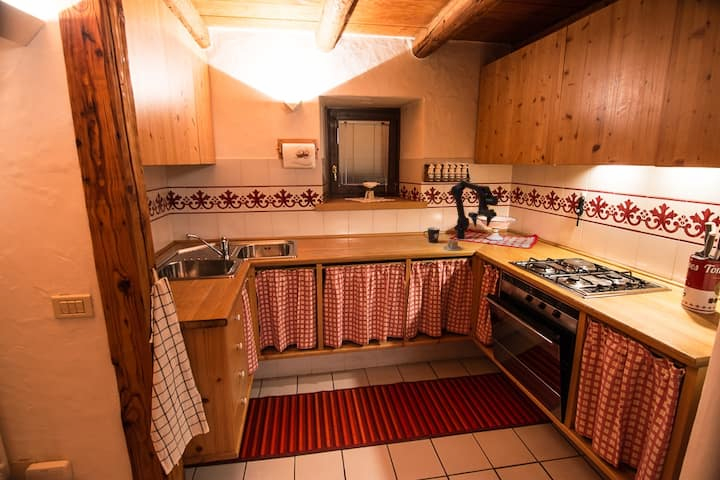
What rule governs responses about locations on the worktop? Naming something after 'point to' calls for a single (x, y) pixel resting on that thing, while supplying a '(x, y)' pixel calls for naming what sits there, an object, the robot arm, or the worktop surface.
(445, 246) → the coaster
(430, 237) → the coffee mug
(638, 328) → the worktop surface
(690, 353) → the worktop surface
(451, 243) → the block
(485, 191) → the robot arm
